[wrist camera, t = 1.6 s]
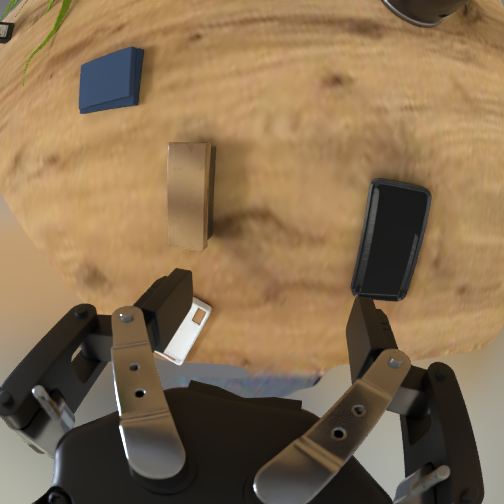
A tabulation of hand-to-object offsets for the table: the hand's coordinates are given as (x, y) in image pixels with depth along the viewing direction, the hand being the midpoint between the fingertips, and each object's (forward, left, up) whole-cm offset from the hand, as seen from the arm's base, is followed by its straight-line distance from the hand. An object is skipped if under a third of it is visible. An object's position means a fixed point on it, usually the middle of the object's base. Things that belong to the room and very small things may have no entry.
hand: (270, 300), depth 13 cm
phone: (+3, +13, -20) cm, 24 cm away
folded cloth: (-15, -25, -20) cm, 36 cm away
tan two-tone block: (0, -11, -20) cm, 23 cm away
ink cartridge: (-38, -63, -20) cm, 76 cm away
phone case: (+22, -15, -20) cm, 33 cm away
